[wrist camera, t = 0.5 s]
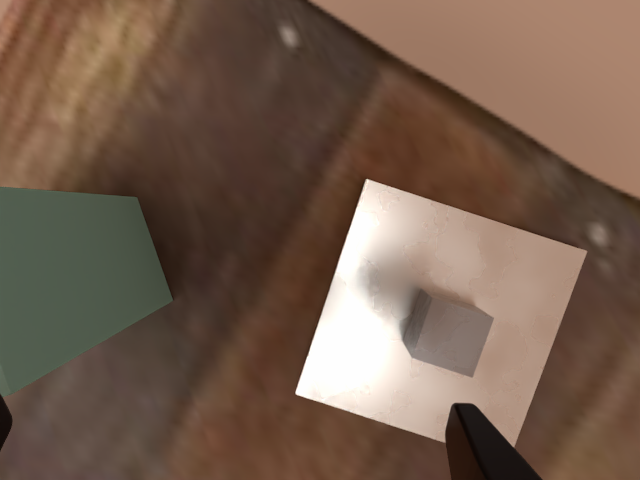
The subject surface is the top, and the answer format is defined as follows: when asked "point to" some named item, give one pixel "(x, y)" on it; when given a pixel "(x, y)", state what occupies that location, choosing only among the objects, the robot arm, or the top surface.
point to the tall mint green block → (70, 277)
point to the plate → (450, 268)
